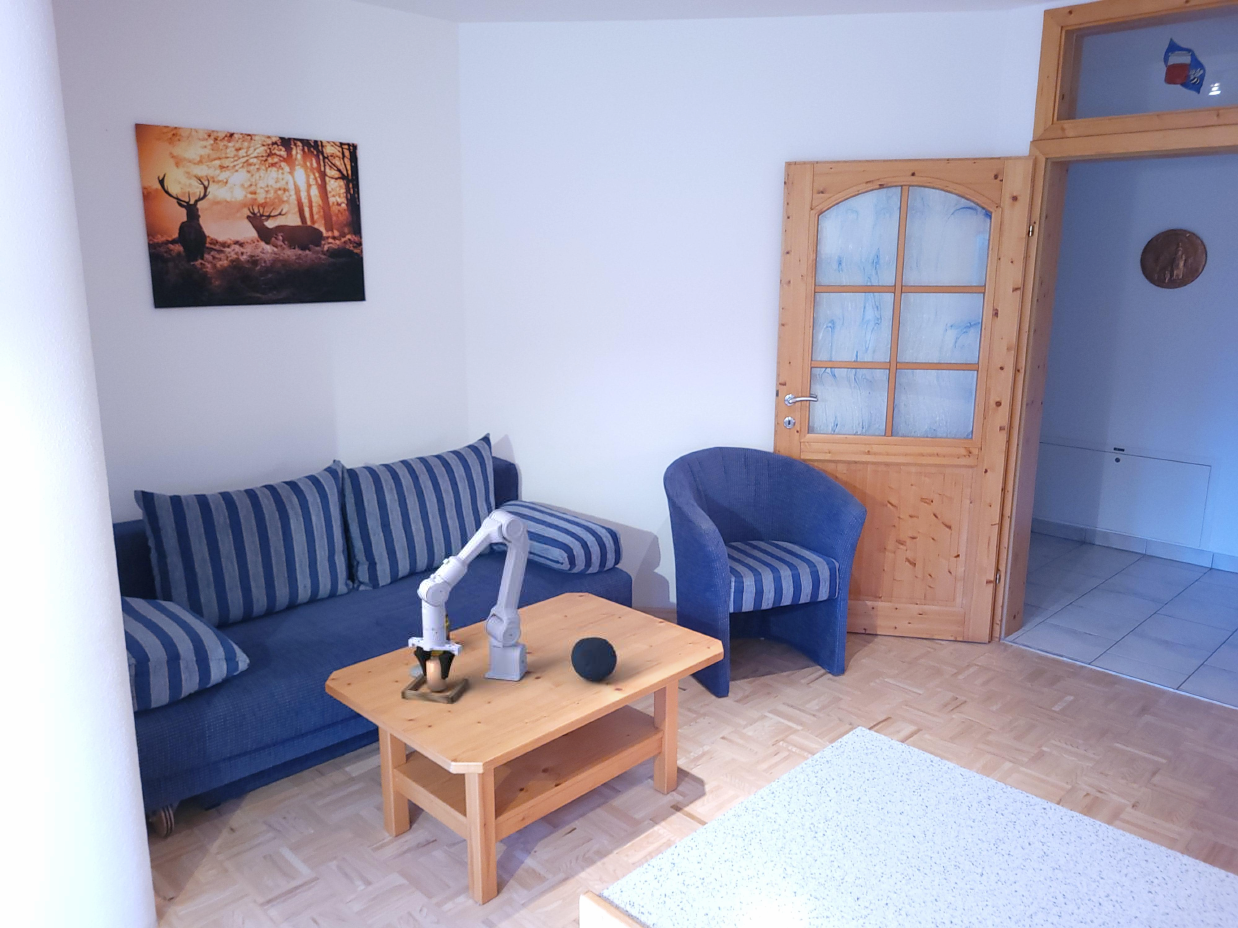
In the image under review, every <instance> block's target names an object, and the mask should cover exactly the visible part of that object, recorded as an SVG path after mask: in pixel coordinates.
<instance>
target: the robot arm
mask: <svg viewBox="0 0 1238 928" xmlns="http://www.w3.org/2000/svg"><path fill="white" fill-rule="evenodd" d="M502 542H504V543H505V544H506V546H507V552H506V557H505V562H504V567H503V572H502V578H501V583H500V587H499V591H498V597H497V601H496V604H495V606H493V607H492V608H491V610H490V613H489V615H488V617H487V619H486V620H485V622H484V630H485V631H486V633H487V634H488V636H489V644H488V645H489V670H488V672H486V674H485V675H484V678H486V679H487V678H488V679H494V680H504V681H514V682H519V681H520V679H521V678H522V677H523V676H524V674H526V672H527V671H528V669H529V668H528V666H527V663H528V661H527V658H528V656H527V655H528V653H527V646H526V644H525V643H522V642H519V640H520V638H521V635H522V630H521V626H520V625H521V617H520V614H519V611H518V606H519V601H520V595H521V590H522V586H523V582H524V578H525V577H524V576H525V572H526V566H527V561H528V556H529V552H530V547H531V542H530V537H529V534H528V525H527V523H526V522H525V521H524V520H523V519H522V518H521V517H520V516H519V515H518V516H517V515H514V514H512V513H510V512H507V511H506V510H504V509H500V508H499V509H495V510H493V511H492V512H490V513H489V515H488V516H487V517H486V518H485V519H484V520H483V522H482V524H481V526H480V528H479V529H478V531H476V532H475V534H474V535H473V536H472V538H470V540H469V541H468V543H466V545H465V546H464V547H463V548H462V550H461V551H460V552H459V553H458V555H454V556H453V555H452V556H449V558H445V559H444V560H443V561H442V563H443V564H441V566H440V567H439V568H438V569H436V571H435V572H434V573H432V574H430V576H429V577H428V579H427V578H426V579H424V580H423V581H422V582H421V583H420V585H419V588H418V589H417V591H416V592H417V595H418V596H419V598H420V599H421V607H422V608H421V617H422V637H415V636H413V637H411V638H409V639H408V647H409V648H415V647H416V648H415V650H414V651H413V655H414V657H415V658H416V660H417V661H418V663H419V665H421V668H422V671H423V674H424V676H427V668H426V661H427V660H428V659H430V658H431V652H432V650H438V651H443V653H441V654H440V655H438V658H439V661H440V665H441V676H442V679H443V680H445V679H446V680H447V679H448V678H449V676H450V671H451V667H452V665H453V662H454V661H453V660H454V659H455V657H456V656H459V655H460V654H462V653H463V646H462V645H461V644H457V643H455V642H453V641H451V640H450V641H448V640H446V618H445V611H446V602H447V601H448V599H449V596H450V592H451V590H452V589H453V587H454V586H456V584H457V583H459V581H460V580H461V579H462V578H463V577H464V576H465V574H466V573H467V572H468V565H469V564H470V563H471V562H472V561H473V560H474V559H475V558H476V557H477V556H478V555H479V554H481V552H482V551H484V550H485V549H486V548H487V547H488V546H489V545H490V544H493V543H502Z"/></svg>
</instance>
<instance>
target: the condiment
mask: <svg viewBox="0 0 1238 928" xmlns="http://www.w3.org/2000/svg"><path fill="white" fill-rule="evenodd" d="M445 618H446V640H448V641H450V642H451V633H450V632H451V631H450V627H451V626H450V621H449V614H448V612H447V611H446V610H445ZM441 653H443V651H438V650H432V652H431V657H432V658H436V657H438V655H440V654H441Z"/></svg>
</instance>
